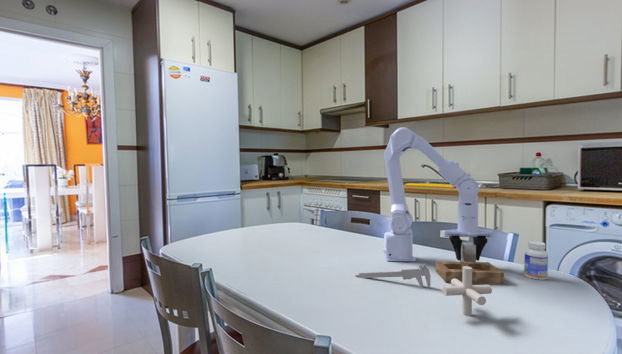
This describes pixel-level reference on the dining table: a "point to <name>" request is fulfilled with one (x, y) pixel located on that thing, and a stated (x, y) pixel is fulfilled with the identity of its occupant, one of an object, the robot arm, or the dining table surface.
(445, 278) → the socket block
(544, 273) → the pill bottle
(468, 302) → the wooden cross jack
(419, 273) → the caliper
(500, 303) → the dining table surface
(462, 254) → the square bit
